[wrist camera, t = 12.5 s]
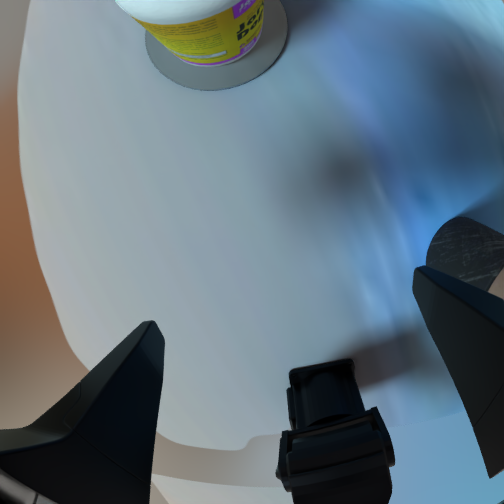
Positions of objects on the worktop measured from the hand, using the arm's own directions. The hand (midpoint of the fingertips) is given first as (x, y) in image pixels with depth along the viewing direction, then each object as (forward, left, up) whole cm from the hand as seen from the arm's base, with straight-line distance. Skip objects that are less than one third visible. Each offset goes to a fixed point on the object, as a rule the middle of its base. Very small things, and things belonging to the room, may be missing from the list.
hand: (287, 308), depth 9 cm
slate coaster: (+1, -14, -13) cm, 19 cm away
